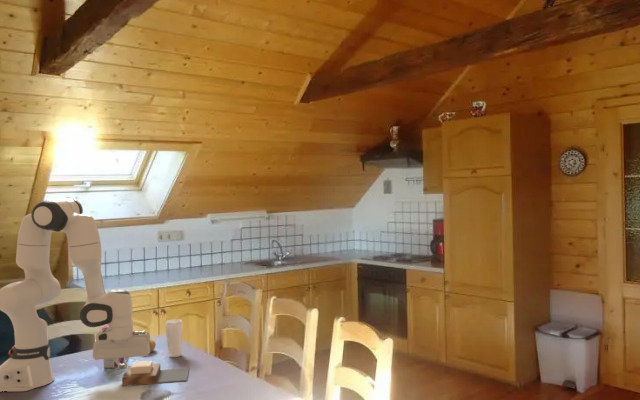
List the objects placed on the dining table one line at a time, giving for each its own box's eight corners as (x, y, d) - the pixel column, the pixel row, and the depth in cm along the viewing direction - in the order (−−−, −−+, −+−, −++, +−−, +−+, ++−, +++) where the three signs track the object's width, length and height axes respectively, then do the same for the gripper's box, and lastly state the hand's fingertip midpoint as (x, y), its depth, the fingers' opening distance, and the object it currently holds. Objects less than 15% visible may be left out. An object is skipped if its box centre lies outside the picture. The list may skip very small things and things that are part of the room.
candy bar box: (112, 359, 239) (111, 321, 238) (124, 359, 239) (123, 320, 238) (102, 368, 228) (101, 328, 227) (115, 368, 228) (113, 327, 227)
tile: (130, 374, 211) (130, 367, 211) (133, 368, 218) (133, 361, 218) (150, 372, 212) (149, 366, 212) (152, 366, 219) (152, 360, 219)
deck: (122, 386, 207) (121, 378, 207) (128, 373, 221) (128, 365, 221) (156, 383, 209) (156, 375, 209) (160, 371, 223) (160, 363, 223)
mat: (156, 383, 209) (156, 382, 209) (160, 371, 223) (160, 370, 223) (186, 381, 211) (186, 379, 211) (189, 368, 225) (189, 367, 225)
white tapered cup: (166, 354, 244) (165, 319, 244) (182, 352, 246) (181, 318, 246) (167, 359, 238) (166, 323, 237) (183, 357, 240) (182, 322, 239)
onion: (151, 348, 254) (150, 332, 254) (158, 352, 248) (158, 336, 248) (134, 352, 249) (133, 336, 249) (141, 356, 243) (140, 339, 243)
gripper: (150, 328, 218) (152, 364, 218) (94, 332, 214) (96, 368, 215) (148, 332, 212) (149, 369, 212) (90, 336, 208) (92, 373, 209)
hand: (122, 368), depth 213 cm, fingers closed
